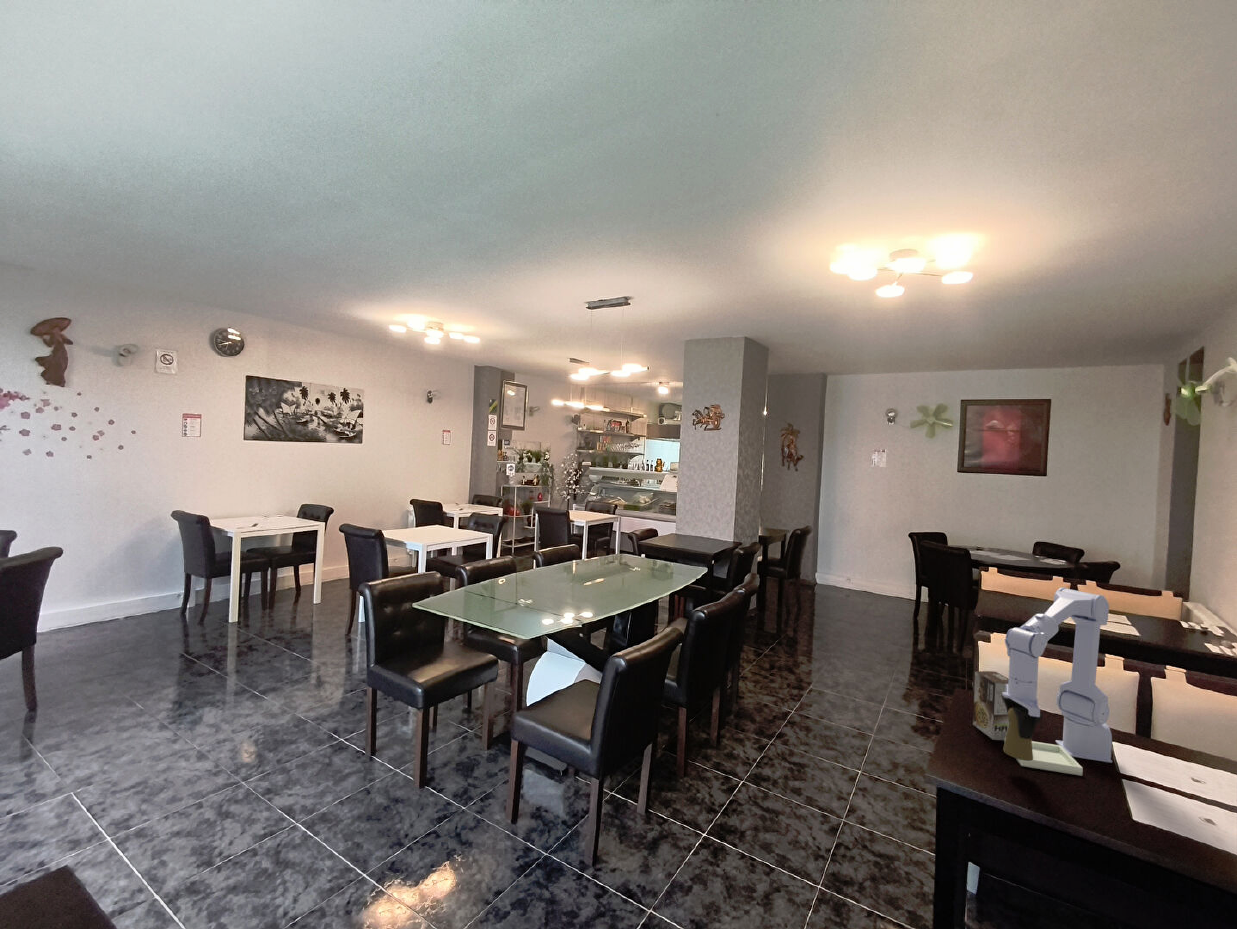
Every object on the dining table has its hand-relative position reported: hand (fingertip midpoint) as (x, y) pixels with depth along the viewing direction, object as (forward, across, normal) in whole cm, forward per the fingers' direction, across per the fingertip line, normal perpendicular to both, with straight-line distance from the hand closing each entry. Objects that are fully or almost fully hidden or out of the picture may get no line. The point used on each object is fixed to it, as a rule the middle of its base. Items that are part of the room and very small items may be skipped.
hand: (1020, 732), depth 136 cm
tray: (+10, -10, +9) cm, 17 cm away
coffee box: (+11, -22, +2) cm, 24 cm away
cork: (+6, 0, 0) cm, 6 cm away
